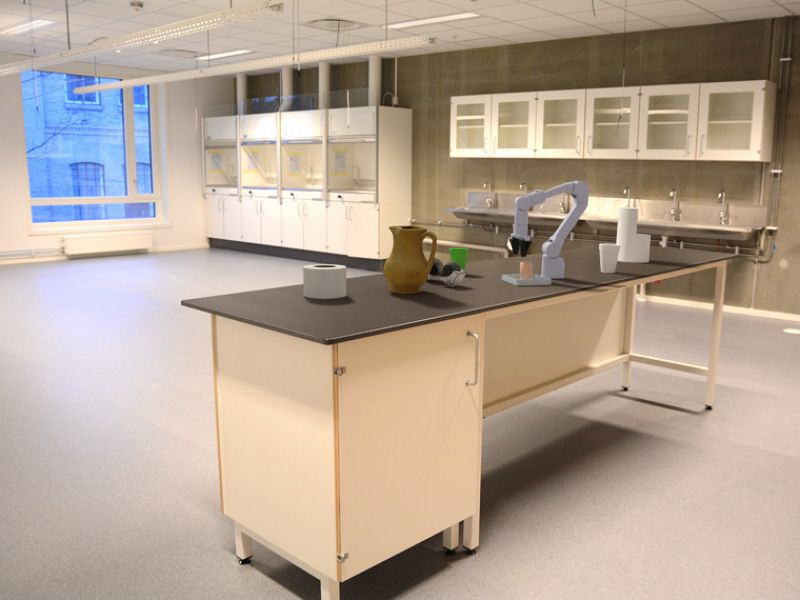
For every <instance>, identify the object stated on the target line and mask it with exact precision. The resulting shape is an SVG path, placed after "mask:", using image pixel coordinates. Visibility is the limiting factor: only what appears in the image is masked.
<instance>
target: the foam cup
mask: <svg viewBox="0 0 800 600" xmlns="http://www.w3.org/2000/svg"><path fill="white" fill-rule="evenodd" d="M598 246H599V247H598V249H599V258H600V259H599V261H600V262H599V263H600V272H601V273H604V274H605V273H606V274H614V273H615V272H616V269H617V264H618V261H617V260H618V255H619V250H620V245H619V244H616V243H609V242H608V243H599V244H598Z"/></svg>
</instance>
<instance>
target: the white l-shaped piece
mask: <svg viewBox="0 0 800 600" xmlns="http://www.w3.org/2000/svg"><path fill="white" fill-rule="evenodd" d="M638 216H639V208H638V207H635V206H619V207H618V215H617V217H618V218H617V229H616V230H617V231H616V243H615V244H619V245H620V250H619V255H618V260H617V262H622V263H623V262H624V263H637V264H638V263H649V262H650V253H651V252H650V251H651V250H650V248H651V237H652V235H651V234H647V233H646V234H645V233H638V231H637V229H638Z"/></svg>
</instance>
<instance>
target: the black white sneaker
mask: <svg viewBox="0 0 800 600" xmlns="http://www.w3.org/2000/svg"><path fill="white" fill-rule="evenodd" d="M428 261H429V259H428V260H427V262H428ZM466 275H467V271H465V270H463V269H462V268H461V266H460V265H458V264H457V263H456V262H451V261H450V262H446V263H445V264H443V263H442V261H441V260H440V259H439V258H435V257H434V262H433V266H432V269H431V270H430V273H429V276H428V279H427V280H426V281H433V280H435V279H436V278H439V279H440V280H441V281H442V282H443V283H444V284H446V286H448V287H449V288H453V287H457V286H458V287H459V286H460V284H461V282H462V281H463V279H464V278H465V276H466Z"/></svg>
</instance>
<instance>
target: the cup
mask: <svg viewBox="0 0 800 600" xmlns="http://www.w3.org/2000/svg"><path fill="white" fill-rule="evenodd" d="M448 251H449V257H450V262H456V263H457V264H458V265H460V266H461V268H462V269H463V270H464V271H465V269H466V265H467V264H466V263H467V258H468V253H469V251H470V249H469V248H464V247H452V248H448Z"/></svg>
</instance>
